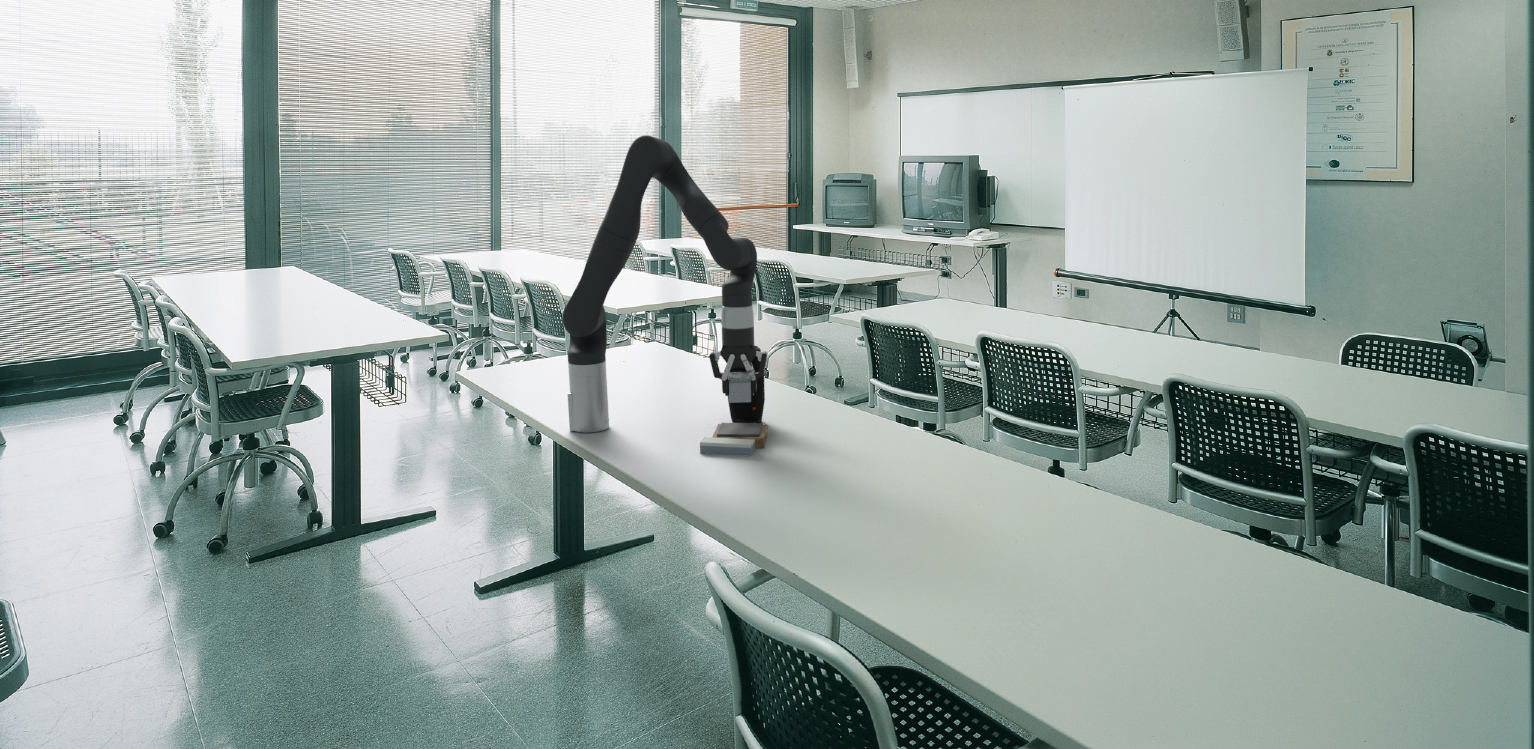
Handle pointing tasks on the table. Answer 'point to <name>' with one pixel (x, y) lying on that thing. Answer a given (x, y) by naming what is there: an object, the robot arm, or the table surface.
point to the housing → (739, 387)
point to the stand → (743, 432)
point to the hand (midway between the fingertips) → (739, 394)
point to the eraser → (727, 446)
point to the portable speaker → (753, 409)
